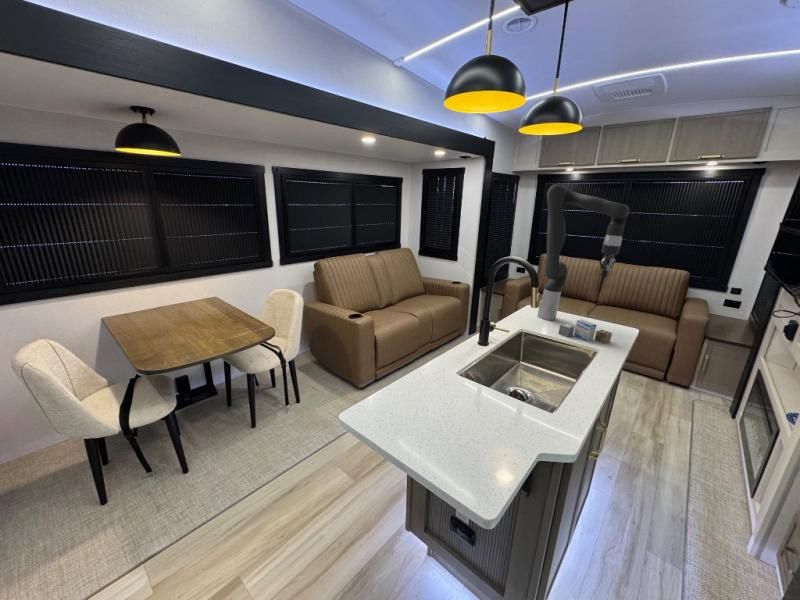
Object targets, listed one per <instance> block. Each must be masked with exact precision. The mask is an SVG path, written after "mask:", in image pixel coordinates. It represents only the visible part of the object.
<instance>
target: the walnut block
mask: <svg viewBox="0 0 800 600" xmlns="http://www.w3.org/2000/svg"><path fill="white" fill-rule="evenodd" d="M595 332H596V333H595V335H594V341H596V342H598V343H601V344H602V345H603V344H604V345H606V344H608V343H611V339H612V335H613V332H611V331H608V330H604V329H599V330H596V331H595Z"/></svg>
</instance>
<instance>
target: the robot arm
mask: <svg viewBox="0 0 800 600" xmlns="http://www.w3.org/2000/svg"><path fill="white" fill-rule="evenodd" d="M546 199H547V210H548V211H547V225H546V227H547V228H546V229H547V230H546V256H545V257H546V258H545V264H544V274H545V276H546V277H547V278H548V281H547V282H546V283H545V284H544V286H543V292H542V293H543V294H542V296H541V297H542V298H541V300H540V301H539V306H538V312H537V317H539V318H541V319H543V320H547V321H555V320H557V315H558V310H559V306H560V300H561V294H562V290H563V288H564V285H565V283H566V279H567V275H568V267H567V265H566V264H565V263H564V262H561V261H560V257H561V255H560V254H561V251H562V248H563V247H564V243H565V240H566V228H567V227H566V221H565V217H564V212H563V210H564V204H568V205H572V206H575V207H579V208H582V209H584V210H586V211H589V212H594V213H597V214H602V215H605V216H607V217H611V218H610V223H609V225H608V226H607V229H606V234H605V236H604V238H603V239H604V241H603V243H602V244H603V245H602V248H601V253H602V254H604V255H603V257H602V259H600V260H599V266H600V270H602V273H601V275H600V276H601V277H602V278H604V279H605V278H607V277H608V275H609V271H610V270H611V269H612V268H613V267H614V264H615V263H616V262H617V259H616V258H615V255H618V254H619V253H620V250H621V245H622V241H623V234H624V231H625V226H626V223H627V219H628V216H629V215H630V214H629V213H630V207H629V205H627V204H624V203H619V202H616V201H610V200H608V199H606V198H602V197H598V196H594V195H588V194H584V193H583V194H582V193H578V192H575V191H573V190H571V189H568V188H567V187H566V186H564V185H561V184H553V185H552V186H550V187H549V189H548V191H547V193H546Z"/></svg>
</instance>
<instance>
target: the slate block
mask: <svg viewBox="0 0 800 600" xmlns="http://www.w3.org/2000/svg"><path fill="white" fill-rule="evenodd" d="M575 327H576V326H574V325H571V324H568V323H563V324H562V323H561V324H560V325H559V328H558V335H561V336H563V337H566V338H569V337H572V336H574V331H575Z"/></svg>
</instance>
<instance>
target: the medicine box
mask: <svg viewBox="0 0 800 600" xmlns="http://www.w3.org/2000/svg"><path fill="white" fill-rule="evenodd" d="M574 327H575V328H574V332H573V337H576V338H578V339H581V340H583V341H584V342H585V341H586V342H591V341H593V340H594V338H595V334H596V333H595V332H596V329H597V324H595V323H592V322H590V321H587V320H585V319H577V320H576V324H575V326H574Z"/></svg>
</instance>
